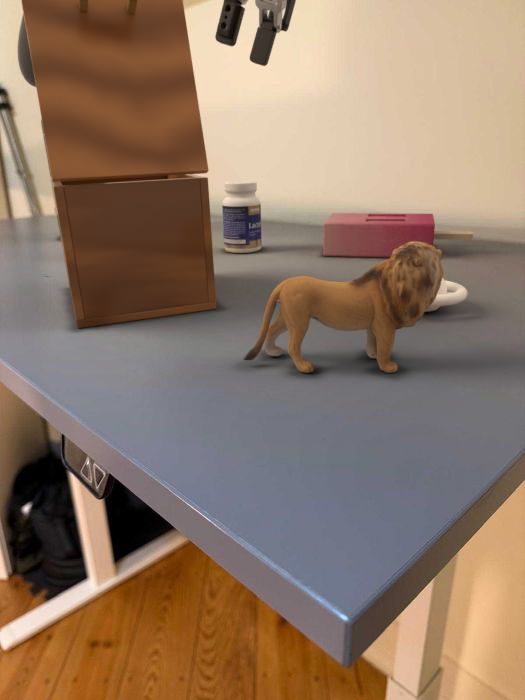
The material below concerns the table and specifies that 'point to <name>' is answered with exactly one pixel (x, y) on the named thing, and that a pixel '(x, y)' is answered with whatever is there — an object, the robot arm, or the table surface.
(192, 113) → the lid
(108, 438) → the table surface
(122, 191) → the chest
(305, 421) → the table surface
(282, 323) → the lion figurine
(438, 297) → the white curved piece
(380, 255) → the popsicle
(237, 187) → the pill bottle
